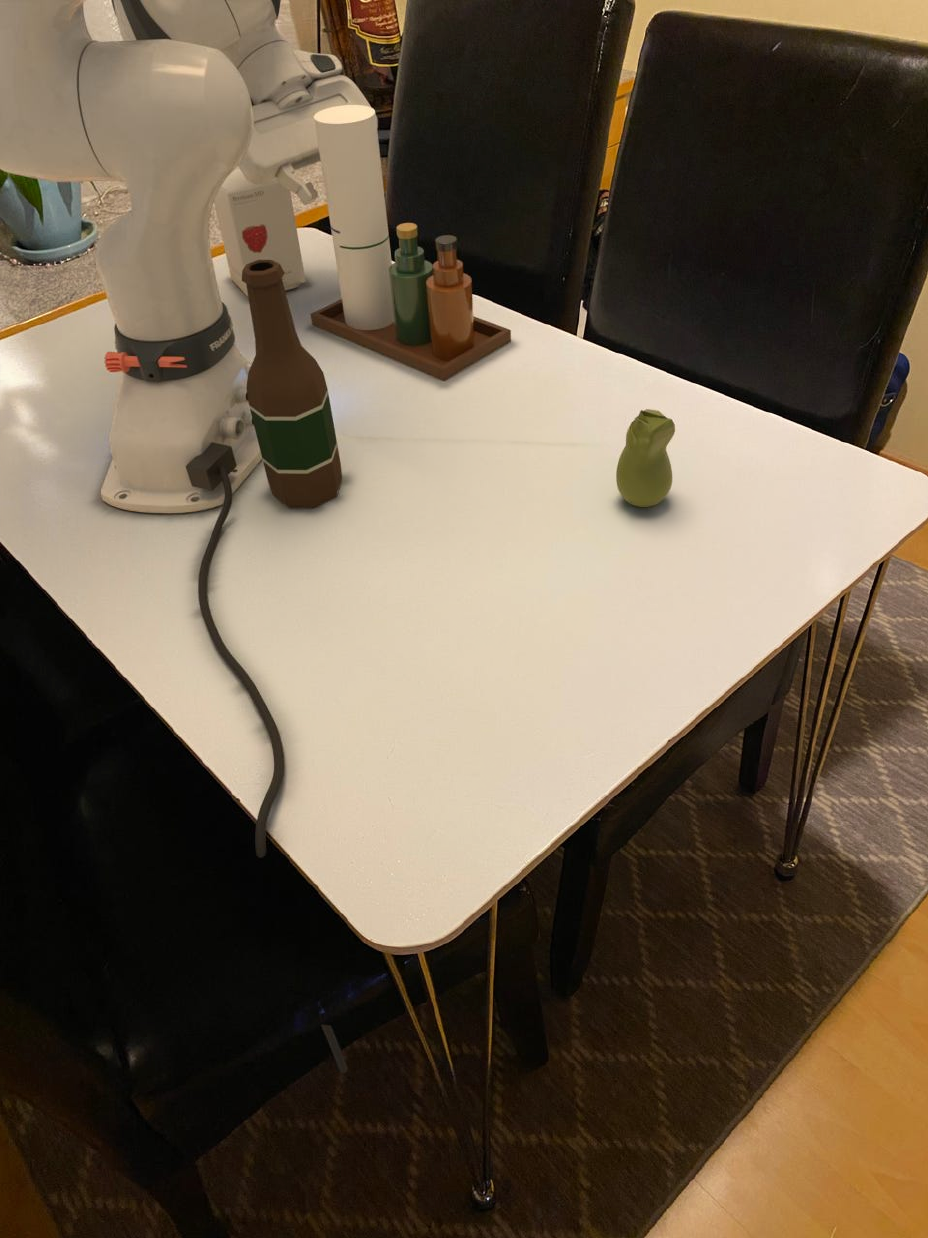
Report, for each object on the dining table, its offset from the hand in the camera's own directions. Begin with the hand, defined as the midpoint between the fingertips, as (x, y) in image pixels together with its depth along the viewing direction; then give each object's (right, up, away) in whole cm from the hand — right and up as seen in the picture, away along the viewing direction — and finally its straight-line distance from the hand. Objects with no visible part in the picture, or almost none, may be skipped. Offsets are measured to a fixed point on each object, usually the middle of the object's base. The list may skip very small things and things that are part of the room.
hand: (340, 188), depth 112 cm
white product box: (-14, -4, +21) cm, 25 cm away
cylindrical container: (+3, -13, +10) cm, 17 cm away
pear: (+33, -42, -21) cm, 58 cm away
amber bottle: (+14, -20, +2) cm, 24 cm away
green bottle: (+9, -17, +5) cm, 20 cm away
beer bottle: (-1, -40, -17) cm, 43 cm away
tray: (+8, -16, +6) cm, 19 cm away
